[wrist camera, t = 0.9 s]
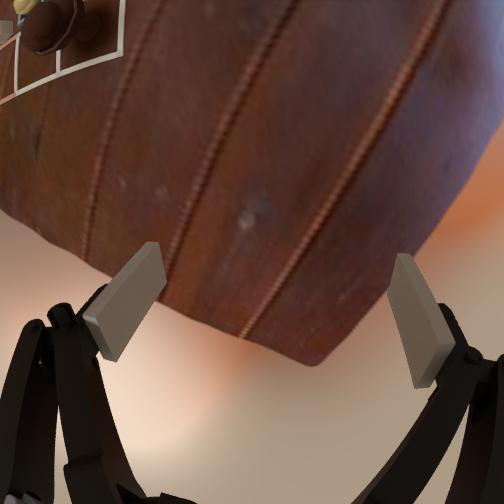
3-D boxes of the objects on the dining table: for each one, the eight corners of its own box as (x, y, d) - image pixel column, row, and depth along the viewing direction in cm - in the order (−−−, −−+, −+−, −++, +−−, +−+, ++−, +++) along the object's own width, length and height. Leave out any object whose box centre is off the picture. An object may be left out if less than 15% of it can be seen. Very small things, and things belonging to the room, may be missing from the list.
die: (3, 31, 29) (-10, 31, 25) (13, 21, 28) (-1, 20, 24) (4, 43, 31) (-9, 44, 27) (13, 33, 30) (0, 33, 26)
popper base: (32, -5, 25) (22, -6, 23) (57, -21, 24) (48, -23, 22) (27, 25, 29) (17, 25, 27) (52, 10, 28) (42, 9, 25)
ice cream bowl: (109, -11, 27) (49, -32, 14) (118, 39, 32) (52, 27, 19) (63, 20, 29) (2, 14, 16) (71, 68, 34) (4, 71, 21)
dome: (28, -4, 24) (10, -6, 19) (47, -17, 23) (28, -20, 19) (24, 19, 27) (5, 18, 22) (42, 7, 26) (23, 5, 21)
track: (-13, 56, 32) (-14, 56, 31) (128, -22, 26) (127, -22, 26) (-14, 112, 39) (-14, 113, 39) (123, 56, 33) (122, 55, 33)
